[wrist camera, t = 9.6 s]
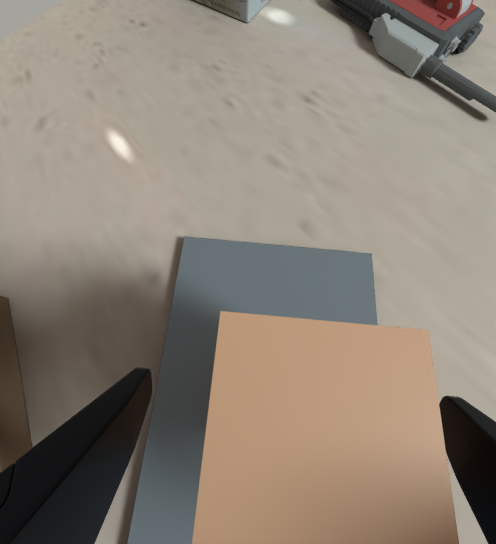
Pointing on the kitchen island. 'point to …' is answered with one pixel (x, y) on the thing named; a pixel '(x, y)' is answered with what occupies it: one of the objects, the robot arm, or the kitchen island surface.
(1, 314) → the plate
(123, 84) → the kitchen island surface
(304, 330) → the terracotta block
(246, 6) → the coffee box
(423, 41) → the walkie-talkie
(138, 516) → the slate grey mat
